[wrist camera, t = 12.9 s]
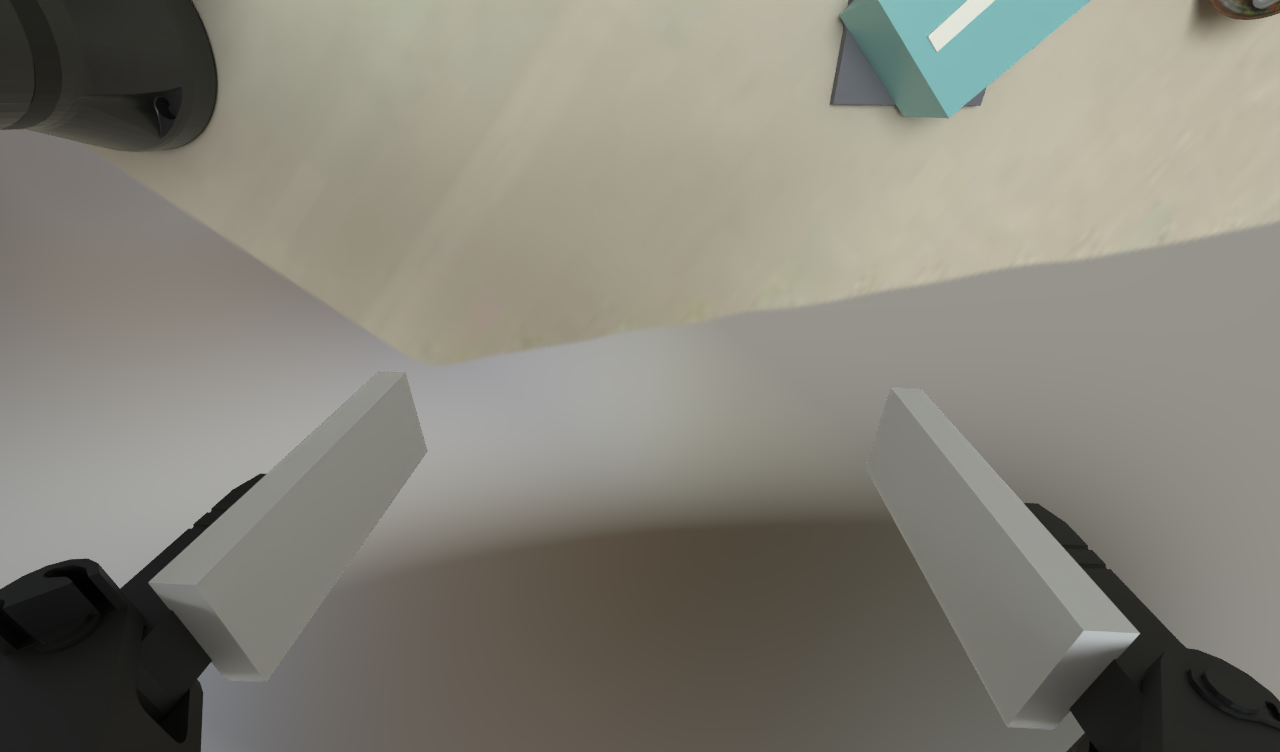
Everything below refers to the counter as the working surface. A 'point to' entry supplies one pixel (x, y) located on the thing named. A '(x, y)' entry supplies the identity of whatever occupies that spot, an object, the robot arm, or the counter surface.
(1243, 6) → the tin
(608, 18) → the counter surface
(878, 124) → the counter surface
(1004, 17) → the striped light blue box
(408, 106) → the counter surface
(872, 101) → the mat
